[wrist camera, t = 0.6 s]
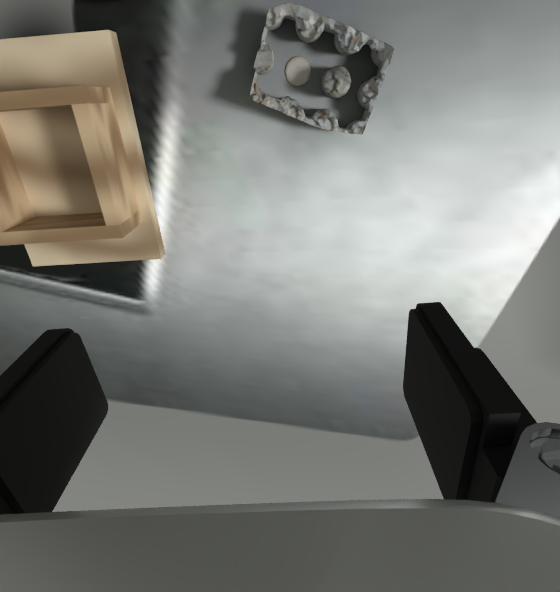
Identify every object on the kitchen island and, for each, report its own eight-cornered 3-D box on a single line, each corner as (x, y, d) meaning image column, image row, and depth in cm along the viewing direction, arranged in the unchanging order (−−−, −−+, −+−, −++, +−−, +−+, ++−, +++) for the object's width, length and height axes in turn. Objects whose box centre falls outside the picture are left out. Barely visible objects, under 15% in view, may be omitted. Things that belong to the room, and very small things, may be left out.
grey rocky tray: (247, 99, 34) (242, 99, 31) (273, 2, 31) (270, -11, 27) (354, 140, 36) (361, 145, 32) (390, 51, 32) (402, 45, 29)
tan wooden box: (-42, 46, 33) (-113, 34, 27) (116, 32, 32) (78, 17, 26) (41, 261, 42) (1, 286, 36) (165, 253, 41) (145, 278, 35)
